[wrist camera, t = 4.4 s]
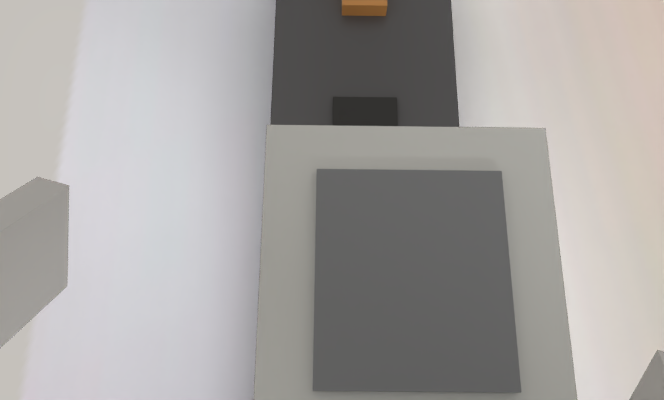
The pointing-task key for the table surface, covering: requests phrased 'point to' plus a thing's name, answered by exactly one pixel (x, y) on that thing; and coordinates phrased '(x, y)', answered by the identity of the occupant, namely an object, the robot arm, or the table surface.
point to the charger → (410, 266)
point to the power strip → (364, 63)
